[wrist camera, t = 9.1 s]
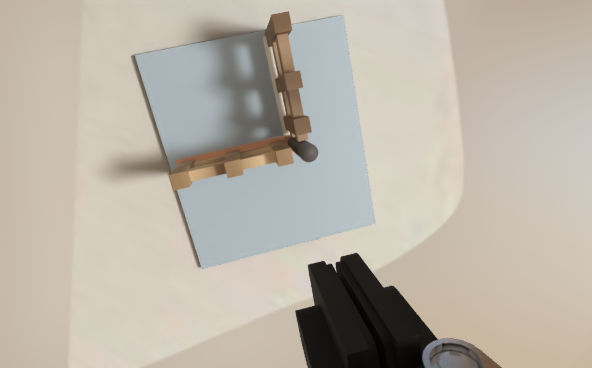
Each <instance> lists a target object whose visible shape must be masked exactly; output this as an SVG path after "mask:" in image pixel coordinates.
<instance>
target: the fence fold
mask: <svg viewBox="0 0 592 368" xmlns="http://www.w3.org/2000/svg"><path fill="white" fill-rule="evenodd" d="M269 145H270V146H266V147H261V148H257V149H252V150H248V151H243V152H240V149H239V150H234V151H230V152H226V155H225V156H220V157H216V158H211V159H207V160H202V161H198V162H196V161H195V159H193V160H189V161H184V162H181V163H180V164H179V165H178V166H177V167H176V168H175V169H174V170H173V171H172V172H171V173H170V174H169V178H170V181H171V184H172V187H173V191H175V190H179V189H184V188H188V187H190V186H191V184H192V183H193V181H196V180H201V179H205V178H209V177H214V176H218V175H223V174H227V178H232V177H236V176H240V175H244V173H243V170H245V169H249V168H253V167H258V166H262V165H267V164H271V163H277V165H278V166H279V167H280V166H284V165H289V164H293V163H294V160H293V155H292V150H291V147H289V146H288V145H287V144H286V143H285V142H284V141H283V140H280V141H275V142H271V143H269Z"/></svg>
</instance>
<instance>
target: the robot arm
mask: <svg viewBox="0 0 592 368" xmlns="http://www.w3.org/2000/svg"><path fill="white" fill-rule="evenodd" d="M308 270H309V276H310V281H311V287H312V293H313V298H314V303H315V306H312V307H308V308H304V309H300V310H296V317H297V322H298V327H299V332H300V337H301V341H302V346H303V350H304V354H305V358H306V362H307V366H308V368H501V367H500V366H499V365H498V364H497V363H495V362H494V361H493V360H492V359H491V358H489V357H488V356H487V355H486V354H485V353H483V352H482V351H481V350H480V349H478V348H477V347H475V346H474V345H472V344H470V343H468V342H465V341H462V340H458V339H453V338H446V339H445V338H443V339H439V340H438V339H437V338H436V337H435V335H434V334H433V333H432V332H431V331H430V329H429V328H428V327H427V326H426V325H425V323H424V322H423V321H422V320H421V318H420V317H419V316H418V315H417V314H416V312H415V311H414V310H413V309H412V307H411V306H410V305H409V304H408V302H407V301H406V300H405V299H404V297H403V296H402V295H401V294H400V293H399V291H398V290H397V289H396V288H395V287H394V286H389V287H385V288H383V287H382V285H381V284H380V282H379V281H378V280H377V278H376V277H375V276H374V274H373V273H372V272H371V270H370V269H369V268H368V266H367V265H366V264H365V262H364V261H363V260H362V258H361V257H360V256H359V254H358V253H354V254H350V255H346V256H342V257H341V258H340V262H336V271H337V272H336V271H335V269H334V267H333V265H332V264H328V265H326V263H325V261H321V262H317V263H313V264H309V265H308Z"/></svg>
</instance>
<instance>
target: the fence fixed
mask: <svg viewBox="0 0 592 368" xmlns="http://www.w3.org/2000/svg"><path fill="white" fill-rule="evenodd" d="M291 31H292V26H291V21H290V16H289V12H283V13H278V14H273V15H271V18H270V21H269V23H268V26H267V29H266V31H265V35H266V39H267V44H268V47H272V50H273V55H274V59H275V64H276V69H277V74H278V78H276V79H275V81H276V86H277V91H278V93H282V97H283V102H284V107H285V112H286V116H283V119H284V123H285V128H286V130H287V131H289V132H290V135H291V137H290V138H289V140H288V146H289V147H291V150H292V151H293V152H294V153H296V154H297V155H298V156H299V157H300V158H301V159H302V160H303V161H305V162H313V161H314V160H316V158H317V157H318V149H317V147H316V146H315V145H313V144H311V143H310V142H308V141H306V140H308V134H307V133H311V132H312V130H311V125H310V119H309V116H305V115H304V114H303V108H302V103H301V98H300V93H299V88H303V83H302V78H301V73H300V70H299V71H295V68H294V63H293V58H292V52H291V47H290V42H289V37H288V35H289V34H290V33H291Z"/></svg>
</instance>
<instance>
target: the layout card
mask: <svg viewBox="0 0 592 368" xmlns="http://www.w3.org/2000/svg"><path fill="white" fill-rule="evenodd" d="M291 26H292V31H291V33H290V34H289V35H288V37H289V42H290V47H291V52H292V58H293V63H294V68H295V71H299V70H300V73H301V78H302V83H303V88H299V93H300V98H301V103H302V108H303V114H304V115H305V116H309V119H310V125H311V130H312V132H311V133H307V134H308V140H306V141H308V142H310V143H311V144H313V145H315V146H316V147H317V149H318V157H317V158H316V160H314V161H313V162H305V161H303V160H302V159H301V158H300V157H299V156H298V155H297V154H296V153H294V152H293V151H292V155H293V160H294V163H293V164H289V165H284V166H280V167H279V166H278V165H277V163H271V164H267V165H262V166H258V167H253V168H249V169H245V170H243V173H244V175H240V176H236V177H232V178H227V174H223V175H218V176H214V177H209V178H205V179H201V180H196V181H193V183H192V184H191V186H190V187H188V188H184V189H179V190H177V192H178V195H179V198H180V201H181V204H182V208H183V211H184V214H185V217H186V220H187V223H188V227H189V230H190V233H191V236H192V239H193V243H194V246H195V249H196V252H197V255H198V258H199V262H200V265H201V268H202V269H205V268H209V267H212V266H216V265H220V264H224V263H228V262H231V261H235V260H239V259H243V258H246V257H250V256H254V255H258V254H262V253H265V252H269V251H273V250H277V249H281V248H284V247H288V246H292V245H296V244H299V243H303V242H307V241H311V240H315V239H318V238H322V237H326V236H330V235H333V234H337V233H341V232H345V231H349V230H352V229H356V228H360V227H364V226H367V225H371V224H375V217H374V210H373V203H372V197H371V190H370V184H369V177H368V171H367V164H366V158H365V151H364V145H363V138H362V132H361V125H360V119H359V112H358V105H357V99H356V92H355V86H354V79H353V73H352V66H351V60H350V53H349V47H348V40H347V34H346V27H345V21H344V15H341V16H335V17H330V18H325V19H320V20H315V21H309V22H304V23H299V24H294V25H291ZM265 31H266V30H263V31H257V32H252V33H247V34H242V35H237V36H231V37H226V38H221V39H216V40H211V41H205V42H200V43H195V44H190V45H185V46H179V47H174V48H169V49H164V50H159V51H153V52H148V53H143V54H138V55H135V58H136V61H137V64H138V68H139V71H140V74H141V77H142V80H143V83H144V87H145V90H146V93H147V96H148V99H149V103H150V106H151V109H152V112H153V115H154V118H155V122H156V125H157V128H158V131H159V134H160V138H161V141H162V144H163V147H164V150H165V153H166V157H167V160H168V163H169V166H170V169H171V172H172V171H173V170H174V169H175V168H176V167H177V166H178V165H179V164H180V163H181V162H184V161H189V160H193V159H195V161H196V162H198V161H202V160H207V159H211V158H216V157H220V156H225V155H226V152H230V151H234V150H239V149H240V152H243V151H248V150H252V149H257V148H261V147H266V146H270V145H269V143H271V142H275V141H280V140H283V141H284V142H285V143H286V144H287V145H288V140H289V138H290V137H291V135H290V132H289V131H287V130H286V128H285V123H284V119H283V116H286V112H285V107H284V102H283V97H282V93H278V91H277V86H276V81H275V79H276V78H278V74H277V69H276V64H275V59H274V55H273V50H272V47H268V44H267V39H266V35H265Z"/></svg>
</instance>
